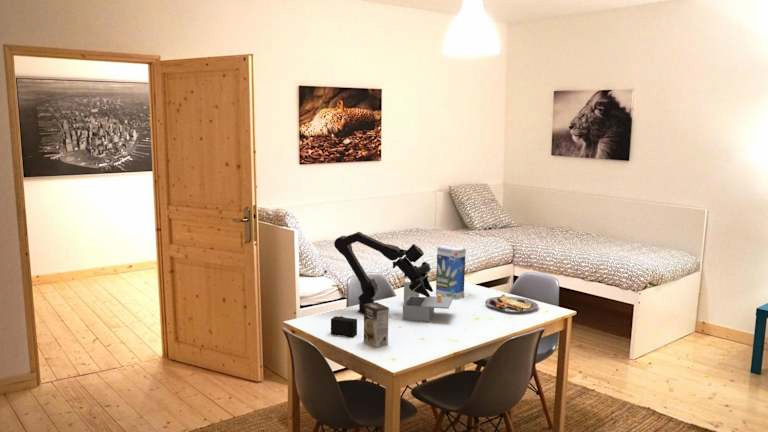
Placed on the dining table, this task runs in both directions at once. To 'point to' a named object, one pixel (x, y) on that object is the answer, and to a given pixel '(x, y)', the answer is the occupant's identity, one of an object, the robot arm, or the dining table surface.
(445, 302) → the lid
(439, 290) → the string lights box
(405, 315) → the carton
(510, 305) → the food plate
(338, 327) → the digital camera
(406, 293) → the supplement box
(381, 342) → the coffee box
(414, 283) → the robot arm
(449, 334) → the dining table surface
